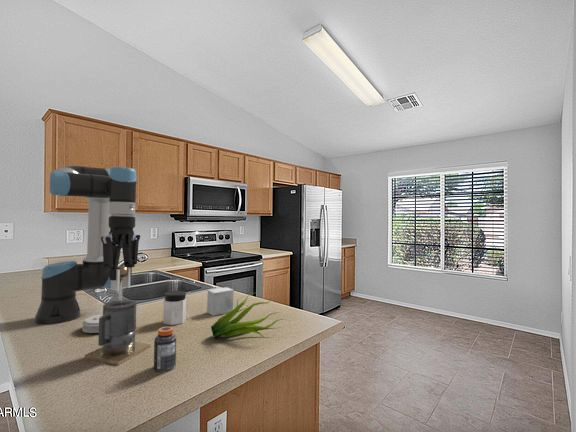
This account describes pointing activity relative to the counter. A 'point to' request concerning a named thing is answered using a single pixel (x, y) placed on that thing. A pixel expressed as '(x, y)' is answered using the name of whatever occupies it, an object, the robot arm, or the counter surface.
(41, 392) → the counter surface
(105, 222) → the robot arm
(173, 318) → the jar
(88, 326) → the white round disc
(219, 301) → the skincare box
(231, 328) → the decorative plant
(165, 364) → the pill bottle
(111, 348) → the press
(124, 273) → the plunger
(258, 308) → the counter surface
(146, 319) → the counter surface
